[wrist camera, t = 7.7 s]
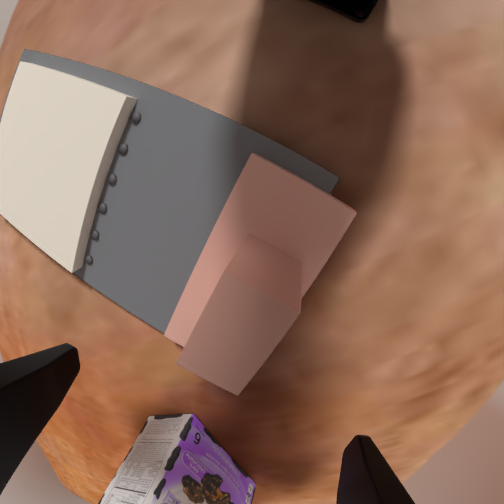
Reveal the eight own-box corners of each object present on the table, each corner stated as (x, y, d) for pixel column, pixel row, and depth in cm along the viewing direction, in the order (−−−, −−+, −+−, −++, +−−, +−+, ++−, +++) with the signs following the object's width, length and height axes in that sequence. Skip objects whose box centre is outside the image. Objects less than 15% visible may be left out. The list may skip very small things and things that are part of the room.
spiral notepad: (147, 103, 15) (137, 100, 14) (90, 272, 19) (80, 279, 18) (30, 62, 15) (20, 61, 14) (-4, 198, 19) (-14, 200, 18)
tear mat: (337, 176, 16) (339, 177, 15) (226, 357, 20) (222, 365, 20) (32, 50, 15) (24, 48, 14) (-7, 196, 20) (-15, 199, 19)
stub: (353, 208, 15) (382, 243, 9) (247, 366, 19) (225, 438, 13) (255, 153, 15) (224, 153, 9) (170, 325, 19) (126, 386, 13)
